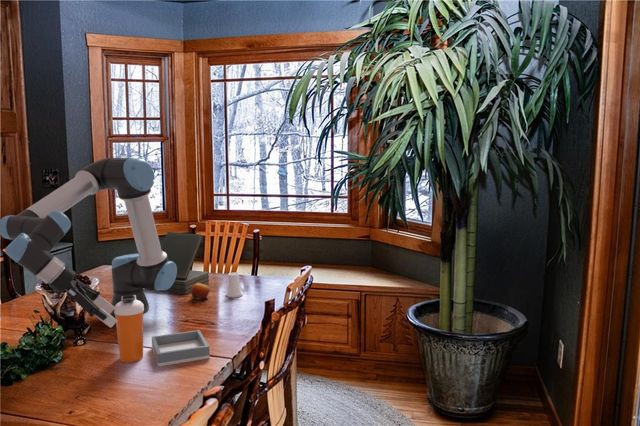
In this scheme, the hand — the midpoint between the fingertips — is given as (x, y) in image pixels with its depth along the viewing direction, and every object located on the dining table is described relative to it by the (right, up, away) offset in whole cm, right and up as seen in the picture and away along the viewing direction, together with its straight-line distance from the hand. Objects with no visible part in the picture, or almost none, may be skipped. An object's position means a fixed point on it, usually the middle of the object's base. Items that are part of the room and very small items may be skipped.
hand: (113, 317), depth 167 cm
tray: (+19, -13, +9) cm, 25 cm away
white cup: (+26, -5, +74) cm, 78 cm away
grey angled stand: (-3, -3, +88) cm, 88 cm away
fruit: (+12, -5, +69) cm, 70 cm away
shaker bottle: (+4, -14, +5) cm, 15 cm away
